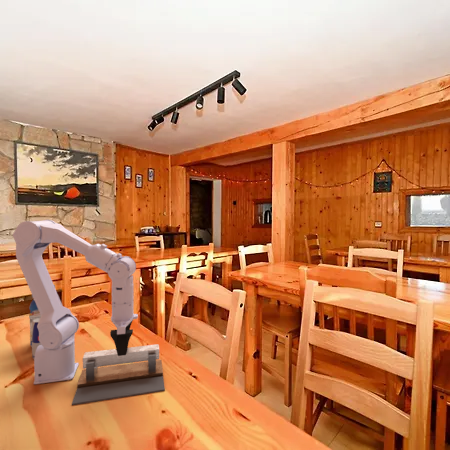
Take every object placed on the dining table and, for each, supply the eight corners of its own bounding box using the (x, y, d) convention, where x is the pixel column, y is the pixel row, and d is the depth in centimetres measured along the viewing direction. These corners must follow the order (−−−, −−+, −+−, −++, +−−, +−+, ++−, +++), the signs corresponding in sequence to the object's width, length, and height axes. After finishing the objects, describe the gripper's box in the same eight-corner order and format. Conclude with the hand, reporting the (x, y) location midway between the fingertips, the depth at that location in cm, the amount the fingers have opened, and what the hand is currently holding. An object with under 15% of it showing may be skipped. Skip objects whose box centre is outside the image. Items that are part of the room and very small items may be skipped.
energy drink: (42, 361, 87) (41, 323, 86) (27, 359, 88) (27, 321, 87) (56, 352, 92) (55, 316, 91) (42, 350, 93) (41, 314, 92)
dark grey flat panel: (71, 405, 68) (71, 403, 68) (77, 389, 74) (77, 388, 74) (164, 390, 75) (164, 389, 75) (163, 377, 80) (163, 375, 80)
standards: (77, 389, 74) (77, 366, 74) (82, 373, 81) (82, 352, 81) (163, 376, 81) (163, 355, 80) (161, 363, 87) (161, 343, 87)
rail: (82, 368, 76) (82, 358, 76) (85, 362, 79) (84, 352, 79) (159, 359, 82) (159, 349, 82) (158, 353, 85) (158, 344, 85)
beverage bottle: (64, 338, 102) (63, 283, 100) (47, 350, 93) (46, 290, 92) (42, 336, 103) (41, 282, 101) (23, 348, 94) (22, 289, 93)
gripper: (137, 308, 74) (137, 359, 74) (138, 292, 87) (138, 335, 88) (108, 311, 72) (108, 363, 72) (113, 293, 85) (113, 337, 86)
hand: (122, 348), depth 80 cm, fingers open, 7 cm apart
